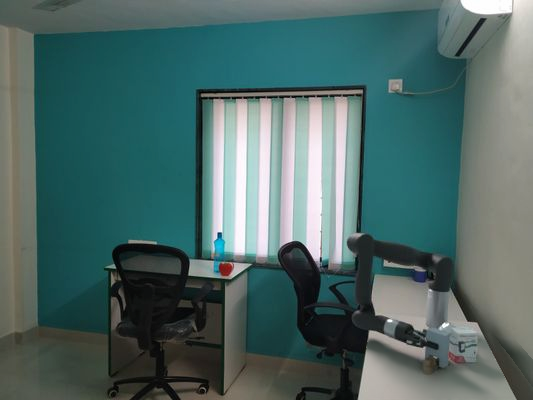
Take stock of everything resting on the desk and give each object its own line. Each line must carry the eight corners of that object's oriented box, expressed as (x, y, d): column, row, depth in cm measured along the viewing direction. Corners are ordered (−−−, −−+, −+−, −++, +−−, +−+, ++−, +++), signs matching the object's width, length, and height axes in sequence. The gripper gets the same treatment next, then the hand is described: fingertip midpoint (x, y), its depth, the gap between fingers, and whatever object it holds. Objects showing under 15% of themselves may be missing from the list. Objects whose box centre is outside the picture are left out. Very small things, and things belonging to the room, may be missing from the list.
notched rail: (443, 358, 158) (444, 347, 158) (448, 360, 157) (449, 349, 156) (422, 372, 147) (423, 360, 147) (428, 374, 146) (429, 362, 145)
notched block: (429, 357, 156) (431, 326, 155) (448, 364, 151) (450, 333, 149) (424, 360, 153) (426, 329, 152) (443, 368, 148) (445, 335, 147)
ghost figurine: (432, 345, 170) (433, 321, 169) (442, 338, 176) (443, 316, 175) (454, 352, 163) (456, 328, 162) (463, 346, 170) (465, 322, 169)
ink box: (455, 363, 155) (457, 333, 154) (448, 356, 160) (450, 327, 158) (476, 362, 156) (478, 332, 155) (468, 356, 161) (470, 327, 160)
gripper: (389, 325, 158) (432, 341, 145) (408, 317, 167) (450, 330, 155) (388, 344, 158) (431, 361, 146) (407, 334, 168) (449, 349, 155)
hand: (440, 345), depth 150 cm, fingers closed on notched block, 4 cm apart
